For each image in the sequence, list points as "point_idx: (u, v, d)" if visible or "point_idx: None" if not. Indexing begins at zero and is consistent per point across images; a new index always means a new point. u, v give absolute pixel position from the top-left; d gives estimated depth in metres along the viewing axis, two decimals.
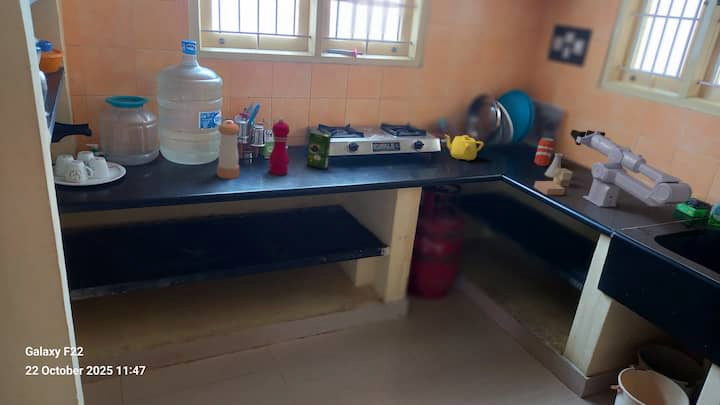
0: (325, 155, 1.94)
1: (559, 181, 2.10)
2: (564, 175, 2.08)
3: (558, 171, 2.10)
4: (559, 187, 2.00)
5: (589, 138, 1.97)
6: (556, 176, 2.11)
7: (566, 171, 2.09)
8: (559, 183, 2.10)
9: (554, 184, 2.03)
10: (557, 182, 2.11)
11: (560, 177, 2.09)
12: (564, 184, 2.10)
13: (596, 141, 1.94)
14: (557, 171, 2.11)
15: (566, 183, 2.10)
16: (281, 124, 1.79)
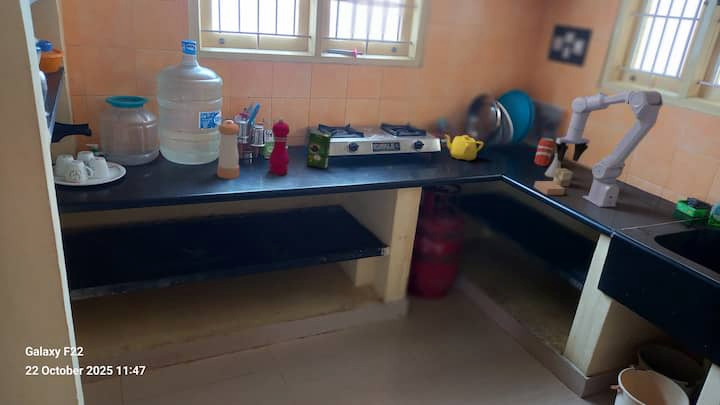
0: (325, 155, 1.94)
1: (559, 181, 2.10)
2: (564, 175, 2.08)
3: (558, 171, 2.10)
4: (559, 187, 2.00)
5: (565, 138, 2.05)
6: (556, 176, 2.11)
7: (566, 171, 2.09)
8: (559, 183, 2.10)
9: (554, 184, 2.03)
10: (557, 182, 2.11)
11: (560, 177, 2.09)
12: (564, 184, 2.10)
13: (568, 129, 2.04)
14: (557, 171, 2.11)
15: (566, 183, 2.10)
16: (281, 124, 1.79)
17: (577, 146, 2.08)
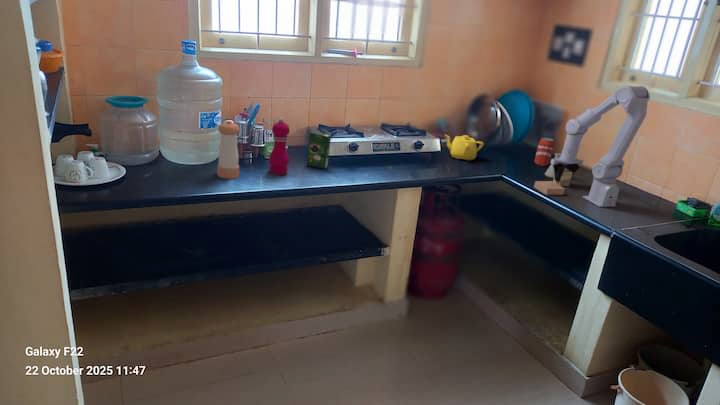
0: (325, 155, 1.94)
1: (559, 181, 2.10)
2: (564, 175, 2.08)
3: None
4: (559, 187, 2.00)
5: (560, 159, 2.08)
6: None
7: (566, 171, 2.09)
8: (559, 183, 2.10)
9: (554, 184, 2.03)
10: (557, 182, 2.11)
11: None
12: (564, 184, 2.10)
13: (562, 150, 2.07)
14: None
15: (566, 183, 2.10)
16: (281, 124, 1.79)
17: (569, 166, 2.11)
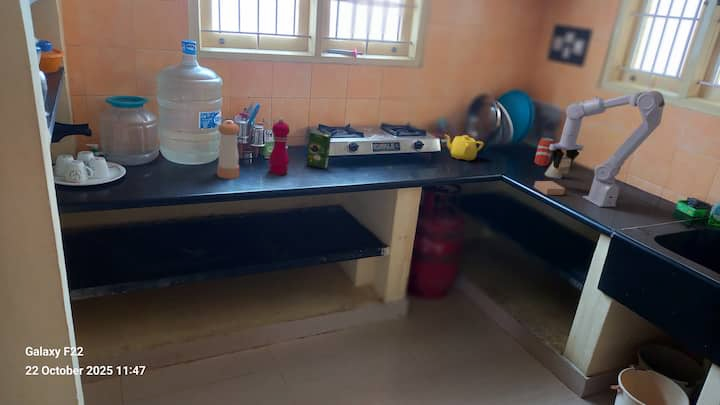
0: (325, 155, 1.94)
1: (557, 168, 2.03)
2: (562, 162, 2.01)
3: None
4: (559, 187, 2.00)
5: (559, 144, 2.01)
6: None
7: (565, 158, 2.02)
8: (557, 170, 2.03)
9: (554, 184, 2.03)
10: (555, 169, 2.04)
11: None
12: (563, 171, 2.03)
13: (562, 135, 2.00)
14: None
15: (565, 171, 2.03)
16: (281, 124, 1.79)
17: (568, 152, 2.04)
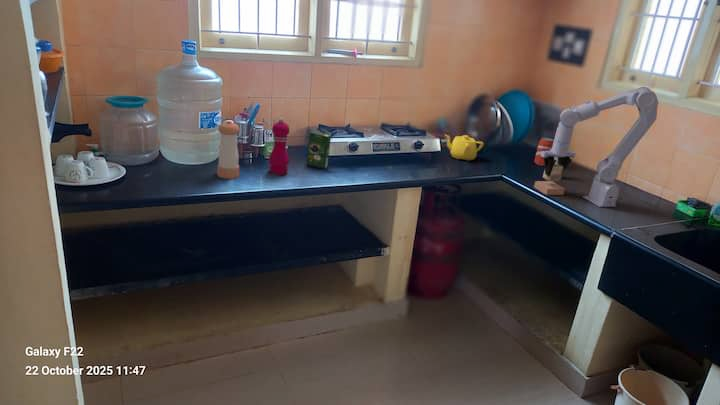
0: (325, 155, 1.94)
1: (549, 176, 1.98)
2: (554, 169, 1.97)
3: None
4: (559, 187, 2.00)
5: (550, 151, 1.96)
6: None
7: (556, 165, 1.97)
8: (549, 178, 1.98)
9: (554, 184, 2.03)
10: (547, 177, 1.99)
11: None
12: (554, 179, 1.98)
13: (554, 142, 1.95)
14: None
15: (557, 178, 1.99)
16: (281, 124, 1.79)
17: (560, 159, 1.99)
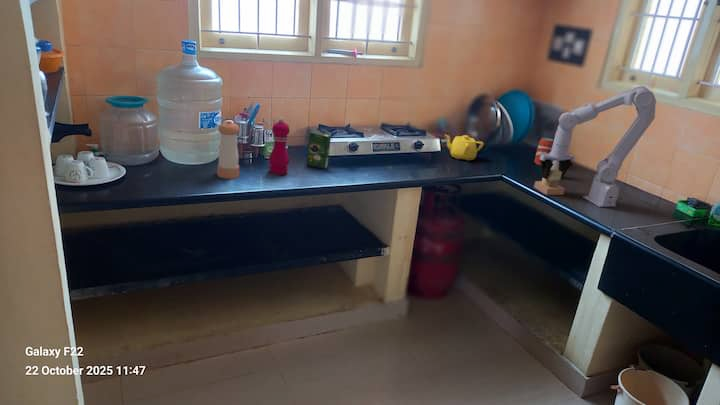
0: (325, 155, 1.94)
1: (548, 181, 1.99)
2: (553, 175, 1.97)
3: None
4: (559, 187, 2.00)
5: (550, 155, 1.97)
6: None
7: (555, 171, 1.98)
8: (548, 184, 1.99)
9: None
10: (546, 182, 2.00)
11: (549, 177, 1.98)
12: (553, 185, 1.99)
13: (553, 146, 1.95)
14: None
15: (556, 184, 2.00)
16: (281, 124, 1.79)
17: (561, 163, 2.00)
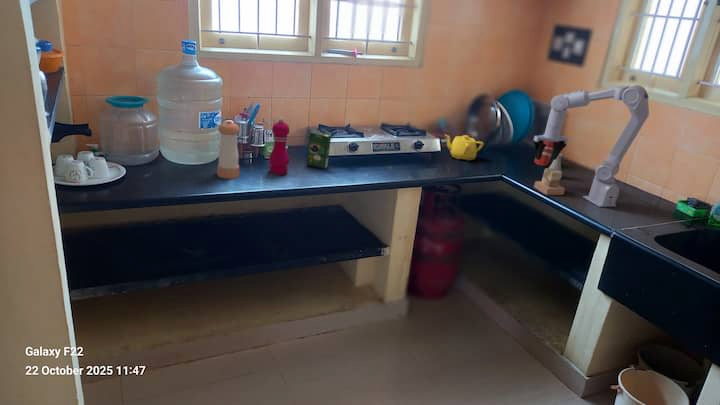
0: (325, 155, 1.94)
1: (548, 181, 1.99)
2: (553, 175, 1.97)
3: (547, 171, 1.99)
4: (559, 187, 2.00)
5: (543, 136, 2.02)
6: (544, 176, 2.01)
7: (555, 171, 1.98)
8: (548, 184, 1.99)
9: None
10: (546, 182, 2.00)
11: (549, 177, 1.98)
12: (553, 185, 1.99)
13: (546, 127, 2.01)
14: (546, 171, 2.00)
15: (556, 184, 2.00)
16: (281, 124, 1.79)
17: (555, 144, 2.05)
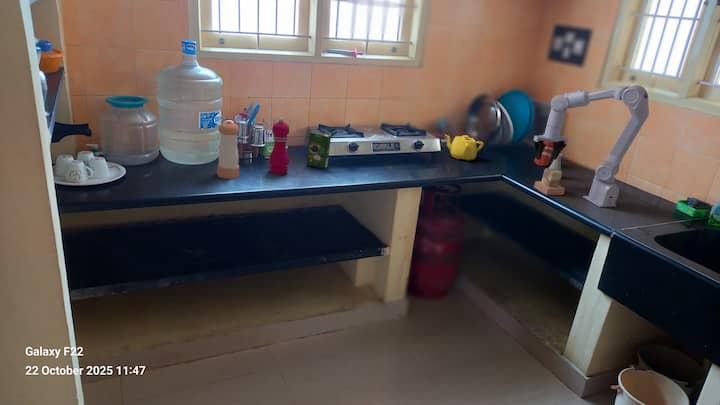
0: (325, 155, 1.94)
1: (548, 181, 1.99)
2: (553, 175, 1.97)
3: (547, 171, 1.99)
4: (559, 187, 2.00)
5: (543, 136, 2.02)
6: (544, 176, 2.01)
7: (555, 171, 1.98)
8: (548, 184, 1.99)
9: None
10: (546, 182, 2.00)
11: (549, 177, 1.98)
12: (553, 185, 1.99)
13: (546, 127, 2.01)
14: (546, 171, 2.00)
15: (556, 184, 2.00)
16: (281, 124, 1.79)
17: (555, 144, 2.05)
